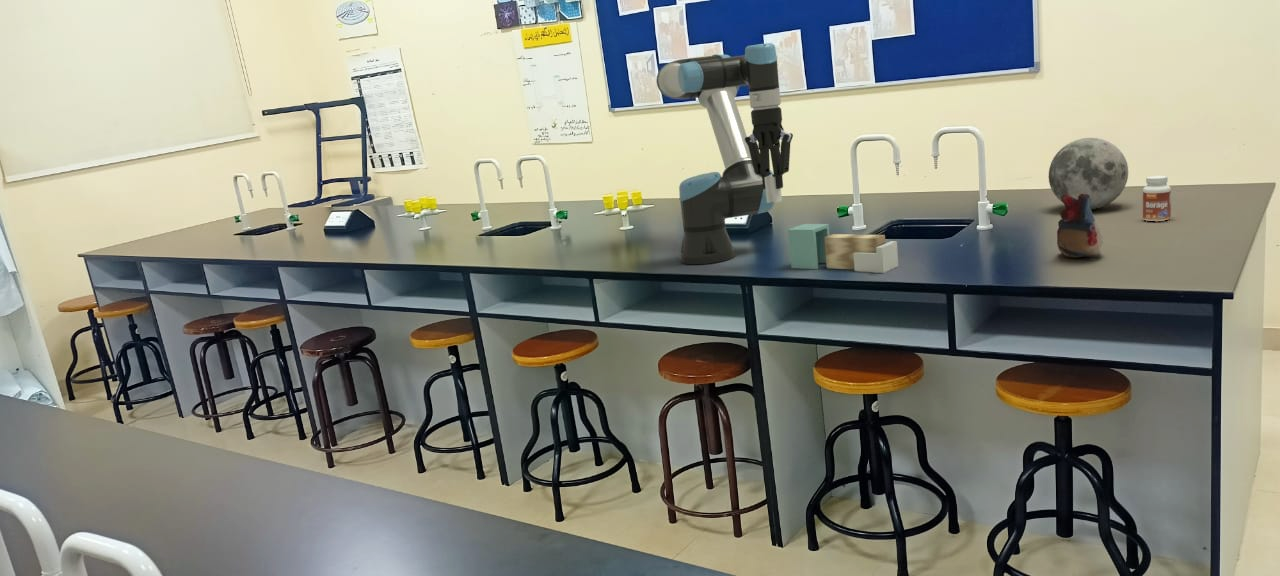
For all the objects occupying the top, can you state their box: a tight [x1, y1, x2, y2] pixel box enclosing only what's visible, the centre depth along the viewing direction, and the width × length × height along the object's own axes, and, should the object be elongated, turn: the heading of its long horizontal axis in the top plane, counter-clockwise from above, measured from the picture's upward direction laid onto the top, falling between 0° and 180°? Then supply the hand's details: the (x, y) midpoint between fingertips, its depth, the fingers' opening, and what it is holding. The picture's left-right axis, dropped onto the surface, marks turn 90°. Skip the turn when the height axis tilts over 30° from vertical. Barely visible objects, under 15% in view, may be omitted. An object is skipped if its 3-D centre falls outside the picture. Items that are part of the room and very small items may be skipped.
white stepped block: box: [853, 240, 899, 274], centre depth 217 cm, size 8×7×6 cm
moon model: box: [1048, 137, 1129, 210], centre depth 256 cm, size 20×20×20 cm
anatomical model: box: [1056, 194, 1104, 258], centre depth 203 cm, size 9×13×15 cm
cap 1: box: [787, 223, 831, 270], centre depth 229 cm, size 7×7×10 cm
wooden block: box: [824, 233, 886, 270], centre depth 221 cm, size 14×4×8 cm, turn 48°
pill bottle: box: [1142, 175, 1172, 220], centre depth 231 cm, size 6×6×11 cm
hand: (774, 201), depth 233 cm, fingers closed
